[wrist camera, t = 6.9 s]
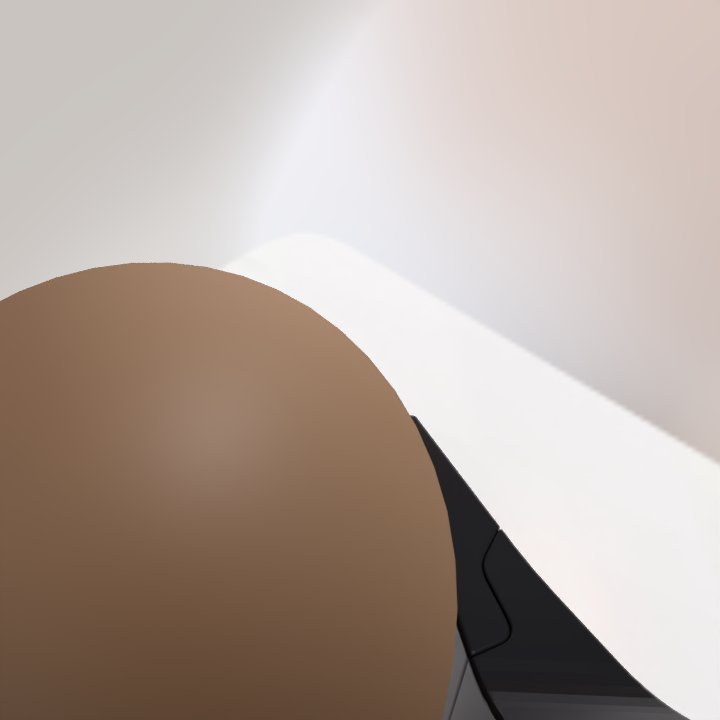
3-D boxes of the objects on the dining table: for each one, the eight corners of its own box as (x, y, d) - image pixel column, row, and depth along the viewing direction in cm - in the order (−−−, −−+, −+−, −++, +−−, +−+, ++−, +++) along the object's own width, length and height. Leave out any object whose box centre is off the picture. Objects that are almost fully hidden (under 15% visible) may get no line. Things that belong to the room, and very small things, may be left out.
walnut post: (328, 568, 15) (65, 1295, 2) (239, 479, 15) (-363, 608, 3) (411, 469, 15) (599, 551, 3) (321, 389, 16) (138, 159, 3)
